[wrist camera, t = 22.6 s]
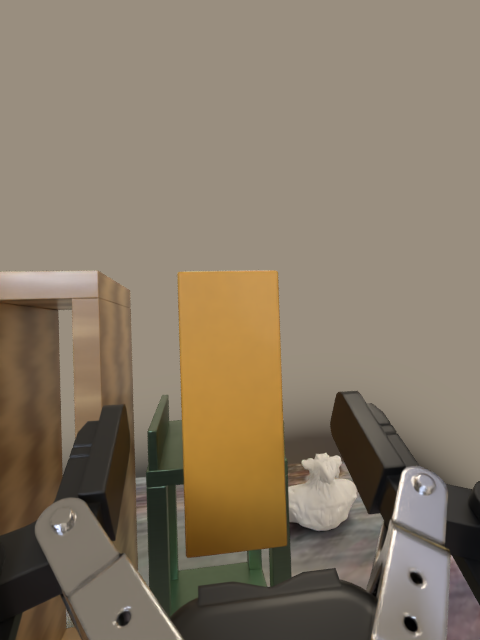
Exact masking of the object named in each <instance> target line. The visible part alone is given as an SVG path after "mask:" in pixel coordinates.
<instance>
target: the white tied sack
mask: <svg viewBox="0 0 480 640" xmlns="http://www.w3.org/2000/svg"><path fill="white" fill-rule="evenodd" d="M341 463H342V462H341V458H340V457H339V456H337V455H336V456H333V457H330V458H329V455H327V453H324V454H316V456H315V459H314V460H313V459H312V458H309V459H308V460H302V465H303V467H304V468H305V469H307V470H309V472H310V478H309V480H308V481H307V482H306V483H305V484H298V485H295V486H290V487H288V495H289V522H296V523H299V524H300V525H301V526H303V527H307V528H310V529H313V530H316V531H327V530H330V529H334V528H336V527H337V526H339V524H340V523H341V522H343V521H344V520H346V519H347V518H348V513H349V511H350V509H351V506H352V504H353V502H354V501H355V499H356V497H357V495H356V492H357V488H356V486H355V484H354V483H353V482H351V481H350V480H347V479H334V478H335V477H336V478H339V473H340V471H339V467H340V465H341Z"/></svg>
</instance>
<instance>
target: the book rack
mask: <svg viewBox="0 0 480 640" xmlns="http://www.w3.org/2000/svg"><path fill="white" fill-rule="evenodd" d="M283 431H284V421H283ZM284 460H285V489H286V518H287V546H284V547H275V548H269V562H270V587H272V586H275V585H277V584H279V583H281V582H283V581H285V580H287V579H290V578H291V553H290V524H289V495H288V475H287V474H288V464H287V459H286V457H285V442H284ZM148 463H149V464H148V468H147V471H146V485H147V520H148V555H149V588H150V590H151V591H152V593H153V594H154V596H155V597H156V599H157V600H158V602H159V603H160V605H161V606H162V608H163V609H164V611H165V612H166V614H167V615H168V616H169V618H170V616H171V615H172V614H173V613H174V612H176V611H177V610H178V609H179V608H180V607H182V606H183V605H185V604H186V603H188V602H189V601H191V600H193V599H195V598H198V586H201V585H208V584H216V583H224V582H231V581H234V582H240V583H246V584H252V585H259V586H265V587H267V584H266V581H265V578H264V574H263V571H262V558H261V549H259V550H250V551H247V561H248V562H245V563H237V564H229V565H221V566H213V567H205V568H197V569H189V570H181V571H178V538H177V505H176V485H180V484H184V473H183V440H182V420H177V421H169V400H168V395H162V397H161V400H160V402H159V404H158V407H157V409H156V412H155V414H154V417H153V419H152V422H151V425H150V427H149V429H148Z"/></svg>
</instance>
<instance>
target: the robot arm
mask: <svg viewBox="0 0 480 640" xmlns="http://www.w3.org/2000/svg"><path fill="white" fill-rule="evenodd" d="M330 425H331V426H330V427H331V433H332V436H333V439H334V441H335V443H336V445H337V447H338V449H339V452H340V453H341V456H342V458H343V460H344V462H345V464H346V467H347V469H348V471H349V473H350V475H351V477H352V479H353V482H354V484H355V486H356V488H357V490H358V492H359V494H360V497H361V499H362V501H363V503H364V505H365V507H366V509H367V512H368V514H376V513H381V515H382V517H383V519H384V521H383V524H382V527H381V531H380V536H379V540H378V545H377V549H376V554H375V558H374V562H373V567H372V571H371V575H370V579H369V582H368V585H367V588H366V590H364V589H363V588H361V587H359V586H357V585H355V584H352V583H350V582H347V581H343V580H339V577H338V574H337V571H336V568H332V569H324V570H316V571H309V572H302V573H300V574H298V575H296V576H294V577H292V578H290V579H287V580H285V581H283V582H281V583H279V584H277V585H275V586H272V587H265V586H259V585H252V584H246V583H240V582H234V581H231V582H224V583H216V584H208V585H201V586H198V598H195V599H193V600H191V601H189V602H188V603H186V604H185V605H183V606H182V607H180V608H179V609H178V610H177V611H176V612H174V613H173V614H172V615H171V616H170V618H169V616H168V615H167V614H166V612H165V611H164V609H163V608H162V606H161V605H160V603H159V602H158V600H157V599H156V597H155V596H154V594H153V593H152V591H151V590H150V588H149V587H148V586H147V584H146V583H145V581H144V580H143V578H142V577H141V575H140V574H139V572H138V571H137V569H136V568H135V566H134V565H133V563H132V562H131V561H130V559H129V558H128V557H127V555H126V554H124V553H120V552H119V551H118V550H117V549H116V547H115V546H114V544H113V543H112V541H115V540H116V534H117V528H118V522H119V516H120V510H121V504H122V497H123V491H124V485H125V479H126V473H127V467H128V461H129V454H130V442H131V441H130V430H129V423H128V416H127V409H126V405H125V404H119V405H104V406H103V407H102V411H101V414H100V418H99V421H87V422H86V424H85V425H84V426H83V427H82V428H81V429H80V431H79V432H78V433H77V436H76V439H75V442H74V445H73V448H72V451H71V454H70V459H69V460H68V463H67V466H66V468H65V472H64V474H63V477H62V480H61V483H60V486H59V489H58V492H57V495H56V498H55V500H54V502H53V504H51V505H50V506H49V507H47V508H46V509H45V510H44V511H43V512H42V514H41V515H40V516H39V518H38V520H36V521H35V522H33V523H31V524H29V525H27V526H25V527H22V528H20V529H17V530H14V531H12V532H9V533H6V534H4V535H1V536H0V640H16V636H17V632H18V629H19V625H20V621H21V618H22V614H23V612H24V611H27V610H29V609H31V608H33V607H35V606H37V605H39V604H41V603H44V602H46V601H48V600H50V599H52V598H54V597H56V596H58V595H60V597H61V599H62V602H63V604H64V606H65V608H66V610H67V612H68V614H69V616H70V618H71V620H72V622H73V624H74V626H75V628H76V630H77V632H78V634H79V636H80V638H81V640H447V621H448V600H449V579H450V555H452V556H453V558H454V560H455V562H456V563H457V565H458V567H459V569H460V571H461V572H462V574H463V576H464V578H465V580H466V581H467V583H468V585H469V587H470V589H471V590H472V592H473V594H474V596H475V598H476V599H477V601H478V603H479V605H480V481H478V482H477V483H476V484H475V486H474V488H473V489H468V488H463V487H458V486H453V485H448V484H445V483H444V482H443V480H442V479H441V478H440V477H439V476H438V475H436V474H435V473H433V472H432V471H430V470H428V469H426V468H423V467H420V466H419V464H418V463H417V461H416V460H415V458H414V457H413V455H412V454H411V453H410V451H409V450H408V448H407V447H406V445H405V444H404V442H403V441H402V439H401V438H400V436H399V435H398V434H397V433H396V430H395V429H394V427H393V426H392V425H391V424H390V421H389V420H388V419H387V417H386V416H385V414H384V413H383V412H382V411H381V410H380V409H378V408H377V407H376V406H375V405H373V404H372V403H370V404H366V402H365V400H364V399H363V397H362V396H361V394H360V393H359V392H358V391H347V392H338V393H337V394H336V398H335V403H334V407H333V412H332V416H331V422H330Z"/></svg>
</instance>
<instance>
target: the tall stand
mask: <svg viewBox="0 0 480 640" xmlns="http://www.w3.org/2000/svg"><path fill="white" fill-rule="evenodd" d="M58 310H72V325H73V365H74V401H75V439H76V436H77V433H78V432H79V431H80V429H81V428H82V427H83V426H84V425H85V424H86V422H87V421H99V418H100V414H101V411H102V407H103V406H104V405H119V404H125V405H126V409H127V416H128V423H129V430H130V441H131V442H130V454H129V461H128V467H127V473H126V479H125V485H124V491H123V497H122V504H121V510H120V516H119V522H118V528H117V534H116V540H115V541H112V543H113V544H114V546H115V547H116V549H117V550H118V551H119V552H120V553H124V554H126V555H127V557H128V558H129V559H130V561H131V562H132V563H133V565H134V566H135V568H136V569H137V571H138V553H137V518H136V483H135V449H134V413H133V378H132V344H131V343H132V342H131V309H130V290H129V289H127V288H125V287H124V286H122V285H120V284H119V283H117V282H116V281H114V280H112V279H111V278H109V277H107V276H106V275H104V274H102V273H101V272H99V271H14V272H12V271H11V272H0V536H1V535H4V534H6V533H9V532H12V531H14V530H17V529H20V528H22V527H25V526H27V525H29V524H31V523H33V522H35V521H36V520H38V518H39V516H40V515H41V514H42V512H43V511H44V510H45V509H46V508H47V507H49V506H50V505H51V504H53V502H54V500H55V498H56V495H57V492H58V489H59V486H60V483H61V480H62V438H61V401H60V400H61V399H60V362H59V361H60V360H59V320H58ZM16 640H81V638H80V636H79V634H78V632H77V630H76V628H75V627H73V628H66V608H65V606H64V604H63V602H62V599H61V597H60V595H58V596H56V597H54V598H52V599H50V600H48V601H46V602H44V603H41V604H39V605H37V606H35V607H33V608H31V609H29V610H27V611H24V612H23V614H22V618H21V621H20V625H19V629H18V632H17V636H16Z"/></svg>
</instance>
